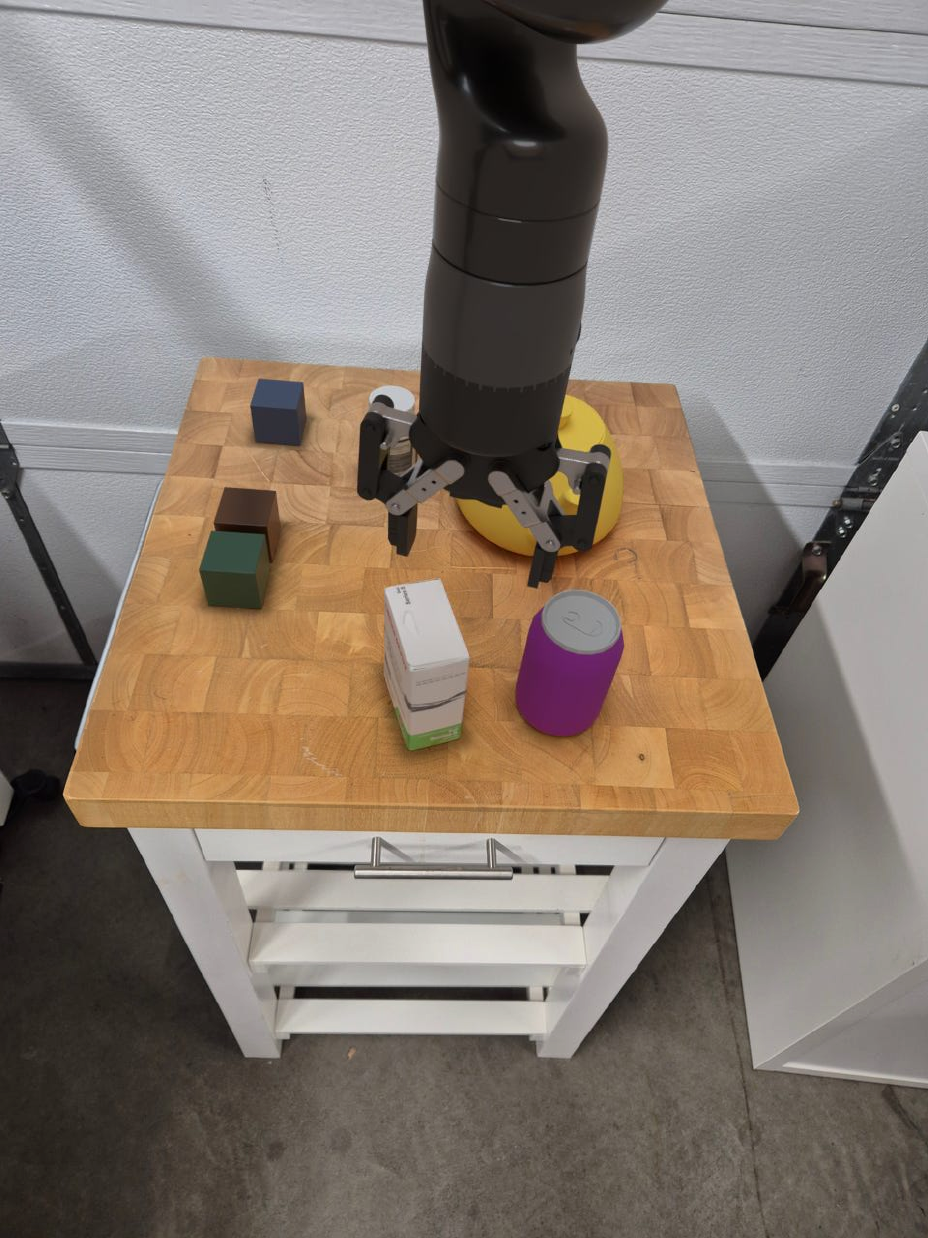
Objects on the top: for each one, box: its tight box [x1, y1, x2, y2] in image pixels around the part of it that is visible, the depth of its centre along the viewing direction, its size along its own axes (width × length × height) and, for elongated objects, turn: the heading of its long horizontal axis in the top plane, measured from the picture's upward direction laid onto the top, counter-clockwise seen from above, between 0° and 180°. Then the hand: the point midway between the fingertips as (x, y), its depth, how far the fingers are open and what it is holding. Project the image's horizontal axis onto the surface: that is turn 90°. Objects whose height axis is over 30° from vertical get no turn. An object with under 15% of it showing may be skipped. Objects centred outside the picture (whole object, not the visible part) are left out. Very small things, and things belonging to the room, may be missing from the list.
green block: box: [198, 530, 271, 610], centre depth 76 cm, size 5×5×5 cm
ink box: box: [383, 577, 471, 752], centre depth 67 cm, size 9×5×12 cm, turn 17°
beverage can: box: [515, 588, 625, 737], centre depth 68 cm, size 8×8×12 cm
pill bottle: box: [368, 384, 419, 476], centre depth 86 cm, size 6×6×10 cm
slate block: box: [249, 378, 307, 447], centre depth 91 cm, size 5×5×5 cm
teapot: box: [456, 394, 625, 557], centre depth 82 cm, size 25×18×14 cm
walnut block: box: [213, 486, 282, 563], centre depth 80 cm, size 5×5×5 cm
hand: (470, 562), depth 52 cm, fingers open, 8 cm apart
